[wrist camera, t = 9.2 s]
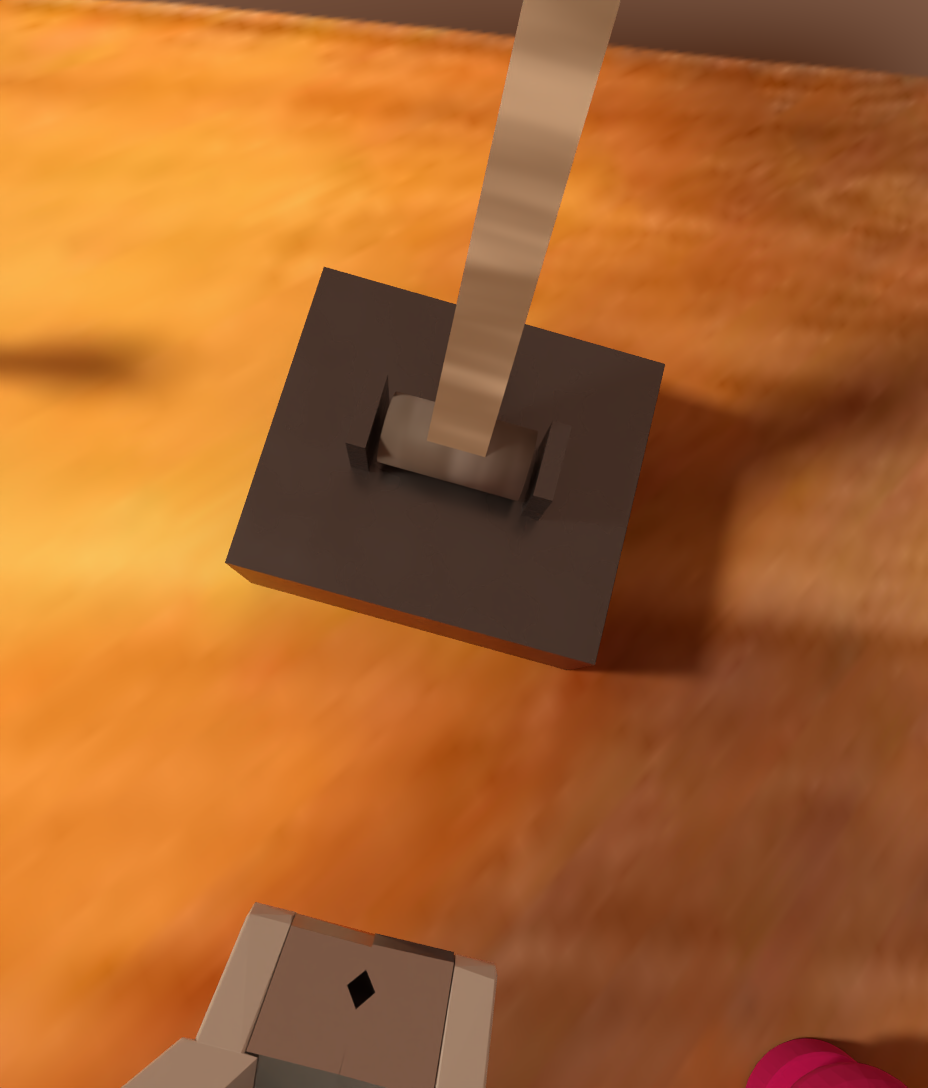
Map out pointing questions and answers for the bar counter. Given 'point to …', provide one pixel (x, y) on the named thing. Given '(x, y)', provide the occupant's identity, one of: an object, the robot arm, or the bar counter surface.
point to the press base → (440, 506)
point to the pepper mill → (816, 1068)
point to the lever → (506, 255)
